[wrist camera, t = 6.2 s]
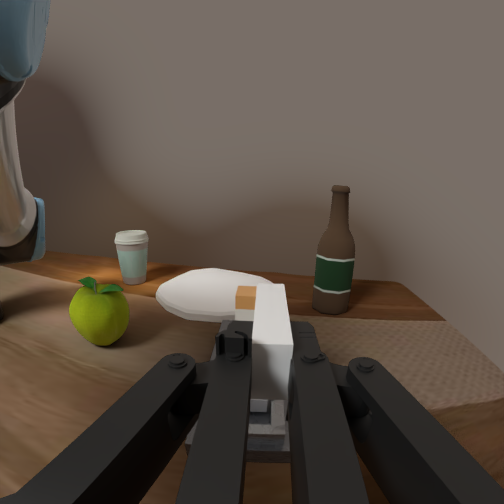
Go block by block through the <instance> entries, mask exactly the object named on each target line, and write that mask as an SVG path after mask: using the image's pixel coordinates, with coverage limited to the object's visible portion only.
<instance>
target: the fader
mask: <svg viewBox="0 0 504 504" xmlns="http://www.w3.org/2000/svg"><path fill="white" fill-rule="evenodd" d="M256 290H257V286H238V288H237V291H236V295H235V320H238V321H254V312H255V301H256ZM250 412H267V400H263V399H250Z"/></svg>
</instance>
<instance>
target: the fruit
mask: <svg viewBox="0 0 504 504" xmlns="http://www.w3.org/2000/svg"><path fill="white" fill-rule="evenodd" d="M78 281H80V282H81V283H82V284H84V285H85V286H83V287H81V288H80V289H79V290H78V291H77V292H76V294H75V295H74V297H73V299H72V301H71V303H70V307H69V314H70V318H71V320H72V323H73V325H74V326H75V328H76V329H77V331H78V332H79V333H80V334H81V335H82V336H83V337H84V338H85V339H87V340H88V341H89V342H91V343H93V344H95V345H110V344H112V343H113V342H115V341H116V340H118V339H119V338H120V337H121V336H122V335H123V333H124V332H125V330H126V328H127V325H128V322H129V307H128V303H127V301H126V298H125V297H124V295H123V294H122V293H121V292H120V291H123V289H122V288H121V287H120V286H118V285H116V284H111V285H110V284H105V285H103V284H96V280H95V279H93V278H91V277H86V278H83V279H81V280H78Z"/></svg>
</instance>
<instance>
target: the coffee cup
mask: <svg viewBox="0 0 504 504" xmlns="http://www.w3.org/2000/svg"><path fill="white" fill-rule="evenodd" d="M148 240H149V239H148V236H147V233H146V231H142V230H129V231H122V232H118V233H117V234H116V238H115V243H116V246H117V252H118V258H119V263H120V268H121V273H122V277H123V282H124V283H125V284H128V285H137V284H141V283H144V282H145V281H146V268H147V246H148Z"/></svg>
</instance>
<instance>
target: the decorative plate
mask: <svg viewBox="0 0 504 504" xmlns="http://www.w3.org/2000/svg"><path fill="white" fill-rule="evenodd" d="M257 283H262V284H273V283H272V282H270V281H268V280H266V279H264V278H262V277H259V276H255V275H250V274H246V273H241V272H235V271H229V270H222V269H216V268H208V269H200V270H191V271H189V272H186V273H184V274H182V275H179V276H177V277H175V278H173V279H171V280H169V281H167V282H165V283H163V284H161V285H160V287H159V288H158V290H157V292H156V300H157V301H158V302H159V303H160V304H161V305H162V306H163V307H164V309H165V310H166V311H168V312H170V313H173V314H175V315H177V316H179V317H182V318H184V319H186V320H195V321H206V322H218V323H222V320H235V295H236V291H237V288H238V286H257Z"/></svg>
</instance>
